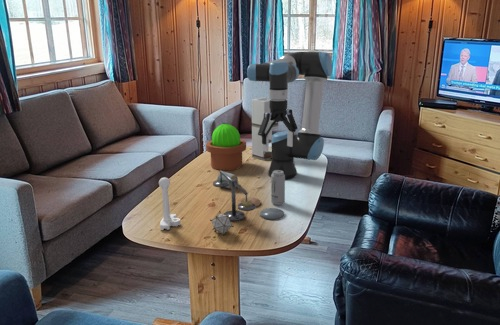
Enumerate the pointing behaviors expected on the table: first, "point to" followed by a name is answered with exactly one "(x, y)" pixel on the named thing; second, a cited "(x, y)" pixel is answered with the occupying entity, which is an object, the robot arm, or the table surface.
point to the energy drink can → (277, 187)
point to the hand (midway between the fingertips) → (278, 148)
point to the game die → (221, 223)
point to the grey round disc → (272, 213)
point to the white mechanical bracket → (167, 207)
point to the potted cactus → (226, 148)
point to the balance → (245, 203)
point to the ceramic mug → (227, 179)
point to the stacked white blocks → (257, 117)
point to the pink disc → (254, 201)
